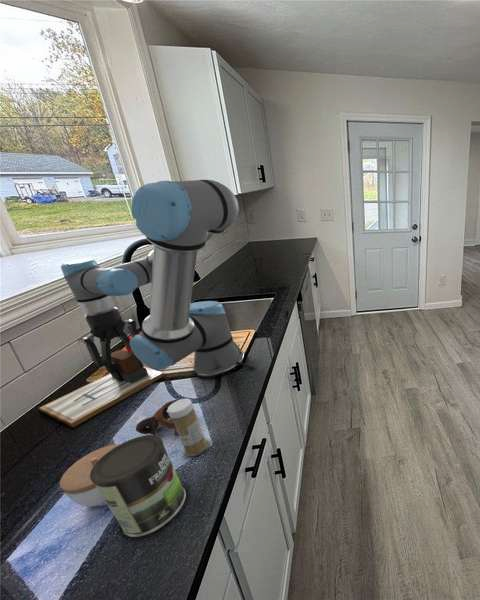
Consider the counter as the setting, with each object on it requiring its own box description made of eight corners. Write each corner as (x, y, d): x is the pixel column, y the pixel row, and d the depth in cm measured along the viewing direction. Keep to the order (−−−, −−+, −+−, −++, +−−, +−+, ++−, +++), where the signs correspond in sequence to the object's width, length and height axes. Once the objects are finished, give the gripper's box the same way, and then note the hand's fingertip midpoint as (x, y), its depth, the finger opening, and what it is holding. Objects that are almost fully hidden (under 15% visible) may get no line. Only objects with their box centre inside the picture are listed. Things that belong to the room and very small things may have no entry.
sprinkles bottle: (181, 454, 73) (161, 409, 68) (199, 439, 77) (182, 395, 72) (195, 459, 72) (175, 413, 67) (212, 444, 76) (195, 400, 71)
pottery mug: (185, 410, 88) (189, 391, 85) (197, 437, 84) (202, 418, 81) (130, 427, 79) (133, 407, 75) (141, 459, 75) (144, 438, 71)
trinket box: (105, 522, 60) (83, 488, 56) (63, 512, 62) (39, 479, 58) (156, 472, 69) (140, 440, 66) (118, 466, 71) (100, 435, 68)
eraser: (148, 374, 103) (139, 353, 100) (131, 383, 99) (121, 361, 96) (129, 368, 107) (120, 348, 104) (112, 376, 103) (102, 355, 100)
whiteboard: (164, 376, 104) (163, 372, 104) (73, 427, 84) (70, 423, 83) (132, 366, 111) (131, 362, 110) (41, 411, 91) (38, 407, 90)
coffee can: (194, 480, 67) (172, 429, 62) (172, 529, 58) (144, 475, 52) (140, 491, 65) (113, 440, 60) (109, 544, 56) (73, 489, 50)
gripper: (127, 297, 103) (153, 357, 112) (53, 322, 88) (90, 389, 97) (141, 300, 100) (166, 361, 109) (67, 326, 85) (103, 394, 94)
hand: (130, 374), depth 103 cm, fingers open, 6 cm apart
